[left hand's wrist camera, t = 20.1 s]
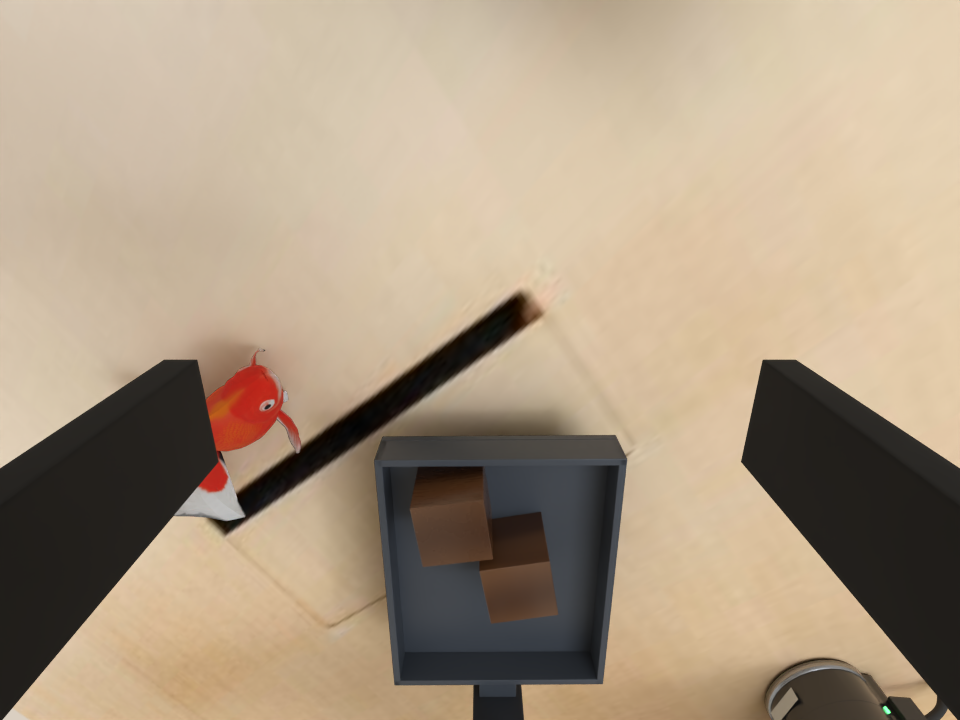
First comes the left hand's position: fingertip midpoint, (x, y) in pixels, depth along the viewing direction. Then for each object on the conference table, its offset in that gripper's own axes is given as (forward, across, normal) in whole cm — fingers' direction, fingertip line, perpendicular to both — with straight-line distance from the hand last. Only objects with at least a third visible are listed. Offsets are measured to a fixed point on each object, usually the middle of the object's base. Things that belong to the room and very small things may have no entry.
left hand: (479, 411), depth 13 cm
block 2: (+20, +2, -21) cm, 29 cm away
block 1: (+20, -2, -16) cm, 26 cm away
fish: (+24, -18, -13) cm, 33 cm away
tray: (+20, +1, -25) cm, 32 cm away
